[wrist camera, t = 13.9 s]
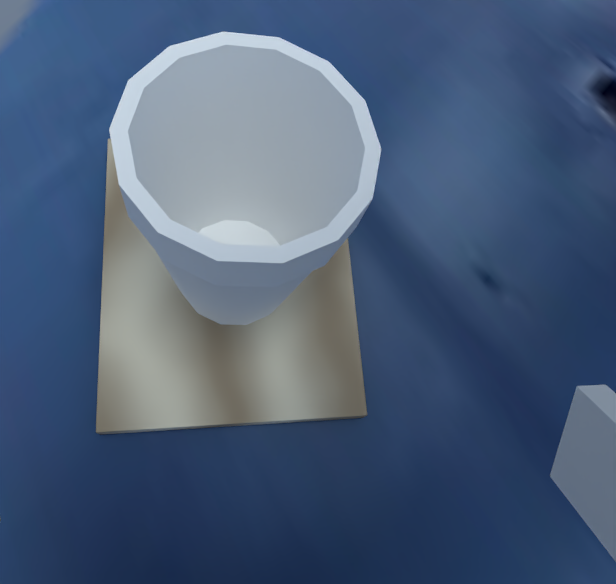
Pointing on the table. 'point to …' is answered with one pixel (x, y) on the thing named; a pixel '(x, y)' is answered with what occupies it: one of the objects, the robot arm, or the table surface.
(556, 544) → the table surface
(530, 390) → the table surface
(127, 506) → the table surface
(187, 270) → the foam cup
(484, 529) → the table surface
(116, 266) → the birch board
